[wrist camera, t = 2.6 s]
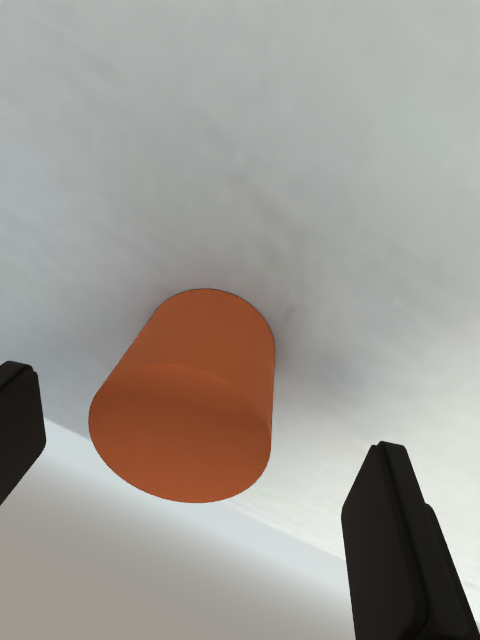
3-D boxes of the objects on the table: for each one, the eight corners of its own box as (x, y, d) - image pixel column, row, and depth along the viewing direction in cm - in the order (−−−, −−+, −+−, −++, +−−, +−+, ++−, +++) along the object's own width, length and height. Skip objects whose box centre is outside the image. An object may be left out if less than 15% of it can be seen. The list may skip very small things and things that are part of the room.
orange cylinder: (144, 386, 16) (90, 484, 11) (149, 276, 13) (83, 346, 9) (261, 409, 16) (252, 517, 11) (288, 303, 13) (289, 387, 9)
